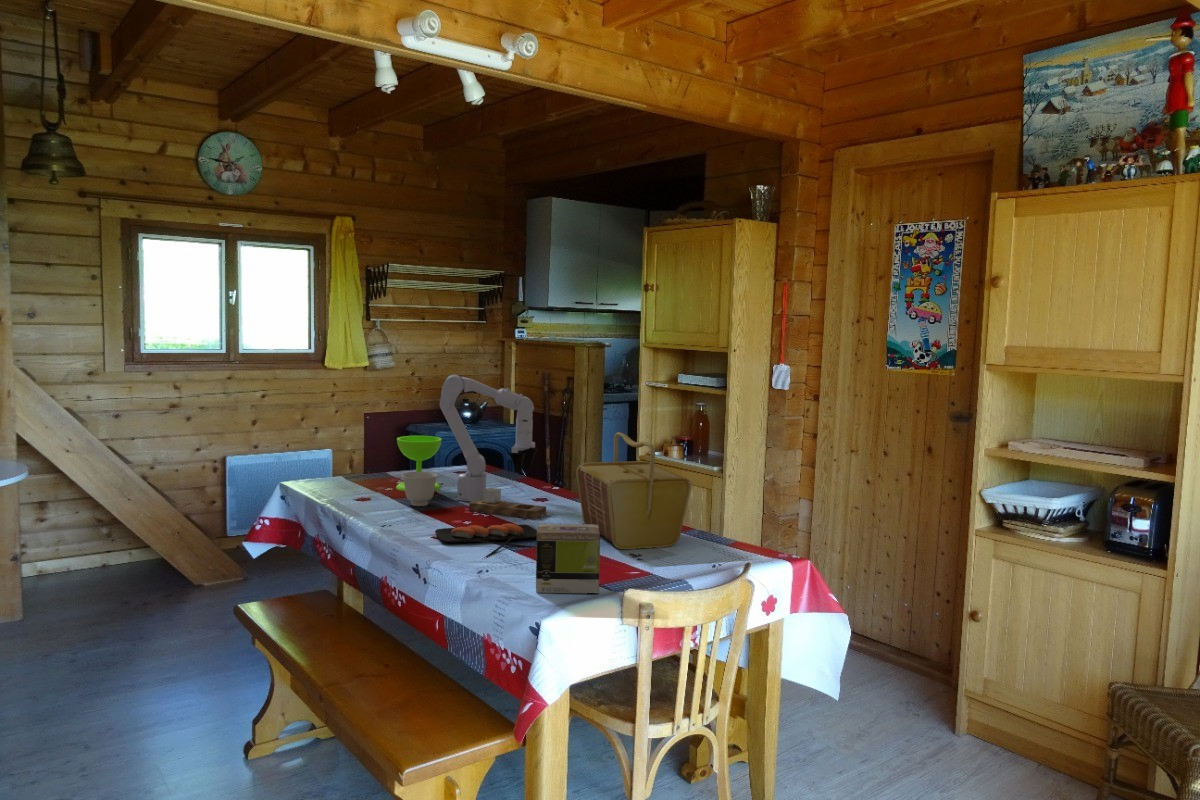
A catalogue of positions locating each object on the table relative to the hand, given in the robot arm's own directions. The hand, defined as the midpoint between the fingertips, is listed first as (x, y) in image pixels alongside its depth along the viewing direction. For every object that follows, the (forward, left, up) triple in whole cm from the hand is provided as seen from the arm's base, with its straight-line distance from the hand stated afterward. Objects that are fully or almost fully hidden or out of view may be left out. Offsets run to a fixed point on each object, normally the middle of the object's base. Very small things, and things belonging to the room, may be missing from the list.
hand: (522, 470), depth 301 cm
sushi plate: (+18, -55, -11) cm, 59 cm away
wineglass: (-42, 0, -11) cm, 43 cm away
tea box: (+52, -82, -11) cm, 98 cm away
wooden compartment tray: (+4, -19, -10) cm, 22 cm away
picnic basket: (+50, -30, -11) cm, 59 cm away
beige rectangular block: (-2, -19, -10) cm, 22 cm away
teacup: (-27, -22, -11) cm, 36 cm away
